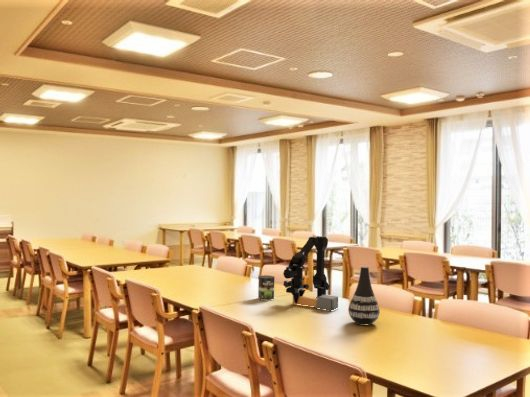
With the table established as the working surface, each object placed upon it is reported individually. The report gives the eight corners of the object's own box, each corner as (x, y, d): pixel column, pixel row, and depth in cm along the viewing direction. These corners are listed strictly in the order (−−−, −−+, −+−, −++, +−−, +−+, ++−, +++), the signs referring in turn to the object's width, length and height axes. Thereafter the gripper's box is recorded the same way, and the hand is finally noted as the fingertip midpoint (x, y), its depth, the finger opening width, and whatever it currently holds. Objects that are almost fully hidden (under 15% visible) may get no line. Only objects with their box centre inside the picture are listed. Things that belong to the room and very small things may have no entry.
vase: (356, 328, 241) (357, 269, 241) (343, 320, 256) (344, 265, 256) (385, 327, 245) (386, 268, 245) (370, 319, 261) (371, 264, 260)
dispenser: (316, 309, 281) (316, 296, 281) (322, 306, 287) (322, 294, 287) (332, 311, 275) (332, 298, 275) (337, 308, 282) (338, 296, 282)
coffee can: (276, 300, 302) (276, 277, 302) (260, 301, 300) (260, 278, 299) (271, 296, 312) (272, 275, 312) (256, 297, 310) (256, 275, 309)
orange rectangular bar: (292, 304, 292) (292, 296, 292) (295, 303, 294) (295, 295, 294) (322, 309, 281) (323, 300, 281) (325, 308, 284) (325, 299, 284)
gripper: (293, 273, 304) (293, 298, 304) (278, 277, 288) (278, 303, 288) (309, 275, 298) (308, 300, 298) (295, 279, 282) (294, 306, 282)
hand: (297, 302), depth 292 cm, fingers closed on orange rectangular bar, 3 cm apart
